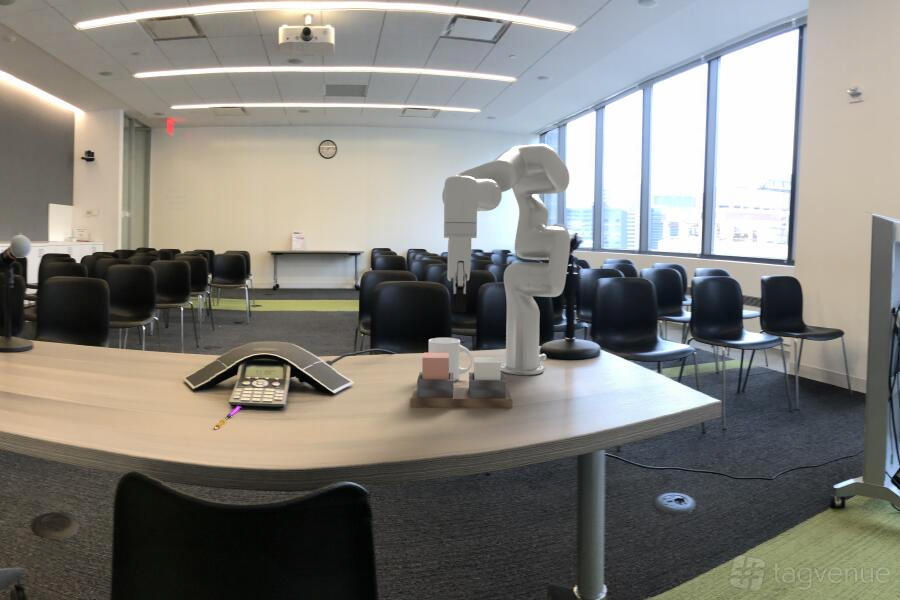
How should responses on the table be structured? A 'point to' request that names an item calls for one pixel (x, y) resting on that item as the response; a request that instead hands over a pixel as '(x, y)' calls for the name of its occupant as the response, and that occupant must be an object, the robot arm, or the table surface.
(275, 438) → the table surface
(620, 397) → the table surface
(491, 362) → the cream key
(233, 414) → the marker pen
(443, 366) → the terracotta key
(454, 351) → the mug
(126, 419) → the table surface
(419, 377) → the key panel
